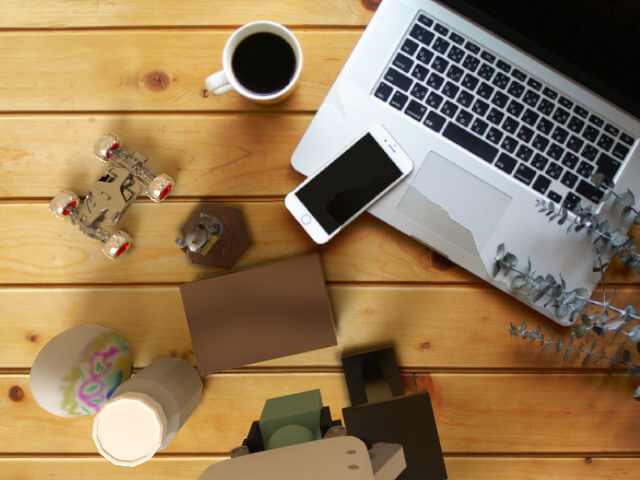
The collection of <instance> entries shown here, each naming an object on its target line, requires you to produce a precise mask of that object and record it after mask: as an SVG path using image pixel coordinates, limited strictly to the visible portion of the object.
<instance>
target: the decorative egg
mask: <svg viewBox="0 0 640 480" xmlns="http://www.w3.org/2000/svg"><path fill="white" fill-rule="evenodd" d="M133 372H134V357H133V352H132V349H131V348H130V346H129V343H128V341H126V339H125V338H124V337H123V336H122V335H121V334H120V333H118V332H116V331H115V330H113V329H111V328H109V327H106V326H103V325H99V324H82V325H81V324H80V325H78V326H74V327H70V328H68V329H65V330H63V331H61V332H59V333H57V334H56V335H55V336H53V337H52V338H51V339H50V340H49V341H47V342H46V343H45V345H44V346H43V347H42V348H41V349H40V350H39V351H38V353H37V355H36V356H35V359H34V360H33V363H32V365H31V367H30V371H29V389H30V393H31V394H32V396H33V399H34V400H35V402H36V403H37V405H38V406H39V407H41V408H42V409H43V410H44V411H46V412H48V413H50V414H52V415H55V416H57V417H61V418H66V419H67V418H68V419H69V418H70V419H71V418H72V419H73V418H74V419H75V418H84V417H88V416H92V415H95V414H98V412H99V411H100V410H101V408H102V407H103V406H104V404H105V403H106V402H107V401H108V399H109V398H110V397H111V395H112V394H113V393H114V391H115V390H116V389H117V387H118V386H120V385H121V384H123V383H124V382H125V381H127V380H128V379H130V378H131V377H132V376H133Z"/></svg>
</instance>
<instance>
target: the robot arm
mask: <svg viewBox="0 0 640 480" xmlns="http://www.w3.org/2000/svg"><path fill="white" fill-rule="evenodd" d="M331 412H332V411H331V408H330V405H325V406H324V407H322V409H321V416H320V423H319V427H320V432H321V437H322V439H321V440H316V441H311V442H306V443H301V444H296V445H291V446H286V447H281V448H276V449H272V450H267V451H265V449H264V445H263V440H262V435H261V431H260V427H259V419H258V420H253V421H252V423H251V426H250V427H249V430H248V434H247V435H246V438H244V439H243V441H242V443H241V445H238V446H236V447H233V448H232V449H231V450H230V451H229V456H230V458H227V459H224V460H220V461H218V462H215V463H212V464H210V465H209V466H207V467H206V468H205V470H203V471H202V473H201V474H200V475H199V476H198V478H197V480H395V479H396V477H397V476H398V475H399V474H400V473H401V472H402V471H403V470H404V469H405V468H406V461H405V457H404V452H403V447H402V445H401V444H393V443H381V442H377V443H376V444H372V442H371V439H368V438H365V437H358V436H352V435H347V433H346V429H345V425H343V422H342V418H338V419H333V417H332V413H331Z"/></svg>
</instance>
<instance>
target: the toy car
mask: <svg viewBox="0 0 640 480" xmlns="http://www.w3.org/2000/svg"><path fill="white" fill-rule="evenodd" d="M123 145H124V144H123V141H122V139H121V138H120V137H118V135H116V134H115V133H114V132H113V133H112V132H110V131H109V132H108V131H107V132H106V133H103V134H102V135H100V137H98V138H97V140H96V141H95V142H94V145H93V146H92V149H91V151H92V153H93V155H94V156H95V157H96V158H97V159H98V160H100V161H102V162H104V163H106V162H107V163H108V162H111V164H113V165H114V166H110V167H109V168H108V169H107V170H106V171H105V172H104V173H103V174H101V175H100V176H98V178H97V179H95V180H94V181H93V182H92V183H91V185H90V186H89V189H88V192H87V195H86V197H85V199H84V200H83V201H84V202H83V203H84V207H85V208H86V211H87V214H85V213H84V212H83V211H82V210H81V209H80V208H78V207H79V205H80V202H81V200H80V198H79V196H78V195H77V194H76V193H75V192H73V191H72V190H69V189H64V190H61V191H60V192H57V193H56V194H55V196H53V198H52V199H51V200H50V202H49V203H48V205H49V206H48V210H49V212H50V213H51V214H52V215H53V216H54V217H56V218H57V219H61V220H62V219H66V218H68V217H69V219H70V223H71V225H73V226H76V225H78V226H79V227H78V231H80V232H82V233H83V235H86V236H87V237H89V238H90V239H94V240H96V241H100V243H101V244H103V246H102V249H101V250H102V252H103V253H104V255H105V256H107V258H109V259H111V260H118V259H119V258H120V257H122V256H123V255H124V254H125V253H126V252H127V251H128V250H129V248H130V247H131V244H132V242H133V238H132V237H131V236H130V234H128V233H127V232H125V231H123V230H117V231H116V232H114V233H113V234H112V233H111V232H109V231H107V230H106V229H105V228H103V227H102V226H101V225H109V226H116V225H117V224H119V222H120V220H121V219H122V218H123V217H124V215H125V214H126V212H127V211H128V210H129V208H130V207H131V206H132V205H133V203H134V202H135V201H136V199H138V197H139V195H140V194H141V193H142V187H143V188H145V190H146V191H145V193H146V196H147V197H149V199H151V201H153V202H155V203H158V204H159V203H162V201H164V200H165V199H166V198H167V197H168V196H169V195H170V194H171V192H172V191H173V189H174V187H175V184H176V183H175V180H174V179H173V178H172V177H171V176H170V175H168V174H166V173H163V172H162V173H159V174H156V173H155V172H154V171H152V170H151V169H150V168H148V167H147V166H146V165H147V162H148V160H149V158H148V157H147V156H146V155H144V154H143V153H142V152H140V151H136V152H135V153H134V154H133V155H131V154H130V153H129V152H128V151H126V149H124V148H123ZM126 156H128V158H127V157H126ZM114 159H115V160H114ZM119 163H120V164H122V165H123V166H124V167H122V166H121V165H120V164H119ZM115 166H116V167H115ZM138 177H139V178H140V179H141V180H143V181H144V182H147V184H149V185H145V184H144V182H142V181H140V180H139V179H138ZM150 177H151V178H150ZM141 186H142V187H141ZM80 214H81V215H80ZM98 230H99V231H98ZM104 233H105V234H104ZM98 235H99V236H98Z"/></svg>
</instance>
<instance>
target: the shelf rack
mask: <svg viewBox="0 0 640 480" xmlns="http://www.w3.org/2000/svg"><path fill="white" fill-rule="evenodd" d="M178 288H179V293H180V297H181V301H182V306H183V311H184V314H185V315H184V316H185V319H186V324H187V329H188V332H189V337H190V342H191V346H192V352H193V355H194V359H195V365H196V370H197V372H198V374H199V377H200V376H205V375H209V374H213V373H218V372H222V371H226V370H232V369H235V368H241V367H245V366H249V365H255V364H259V363H264V362H268V361H272V360H277V359H283V358H286V357H291V356H295V355H299V354H305V353H309V352H315V351H318V350H323V349H327V348H332V347H336V346H338V345H339V344H338V335H337V328H336V324H335V319H334V314H333V310H332V306H331V301H330V295H329V292H328V287H327V283H326V278H325V274H324V269H323V264H322V260H321V255H320V252H319V251H317V252H312V253H308V254H304V255H299V256H295V257H290V258H286V259H282V260H281V259H280V260H276V261H272V262H268V263H263V264H259V265H255V266H250V267H246V268H241V269H235V270H232V271H228V272H227V271H226V272H222V273H219V274H213V275H209V276H205V277H204V276H203V277H201V278H197V279H194V280H190V281H188V282H185V283H181V284H179V285H178Z"/></svg>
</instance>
